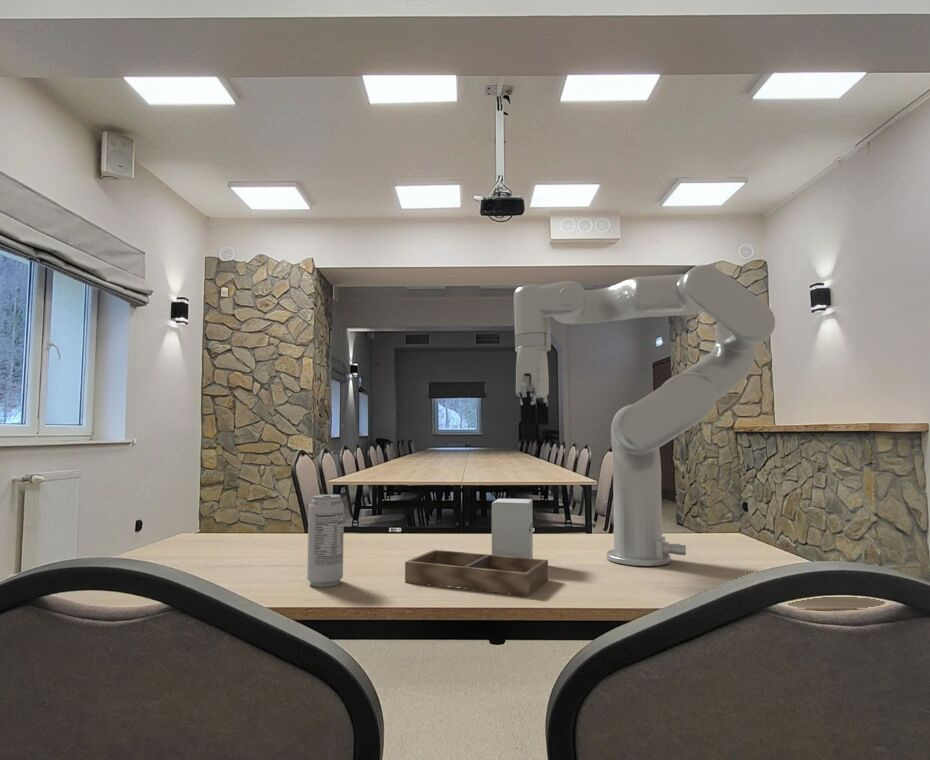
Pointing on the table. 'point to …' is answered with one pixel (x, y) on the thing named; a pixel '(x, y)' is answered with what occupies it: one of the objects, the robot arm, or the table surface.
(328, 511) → the energy drink can
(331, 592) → the table surface
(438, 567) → the frame
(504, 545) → the supplement box
